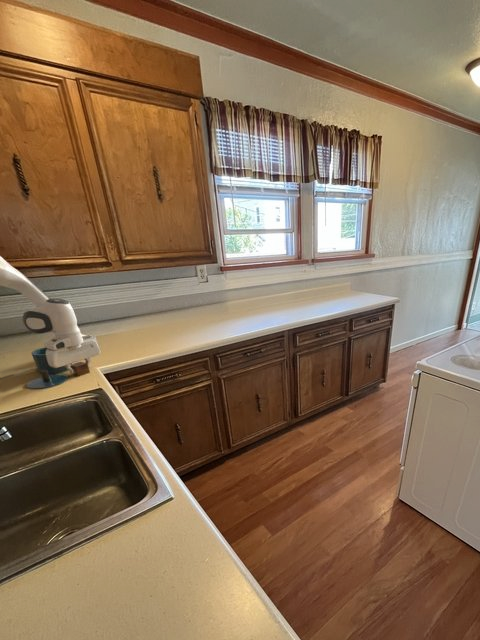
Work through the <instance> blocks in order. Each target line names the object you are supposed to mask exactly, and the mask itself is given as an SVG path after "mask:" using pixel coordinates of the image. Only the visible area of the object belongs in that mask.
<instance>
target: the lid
mask: <svg viewBox="0 0 480 640" xmlns="http://www.w3.org/2000/svg"><path fill="white" fill-rule="evenodd" d="M40 373H41V374H40V377H36V378H34V379H32V380H30V381H29V382H28V383H26V388H28V389H30V390H43V389H48V388H53V387H56V386H59V385H62V384H63V383H65V382H66V381H68V379H69V378H68V375H66V374H51V375H49V374H48V371H47V370H41V371H40Z"/></svg>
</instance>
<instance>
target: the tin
mask: <svg viewBox="0 0 480 640" xmlns="http://www.w3.org/2000/svg"><path fill="white" fill-rule="evenodd" d="M47 349H48V348H45V347H41V348H37V349H35V350H32V351H31V356H32V359H33V361H34V364H35V365H36V369H37V371H38V374H39V375H41V373H40V371H41V370H47V371H48V374H49V375H59V374H61V373H65V372H68V371H69V369H68V368H66V367H65V366H62V367H58V368H53V367H51V366H49V364H48V361H47V358H46V350H47ZM72 364H73V363H71V365H72Z"/></svg>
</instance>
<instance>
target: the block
mask: <svg viewBox="0 0 480 640" xmlns="http://www.w3.org/2000/svg"><path fill="white" fill-rule="evenodd" d="M70 367H71V368H73V369H75V371H76V373H73V374H72V375H73V376H76V377H81V376H85V375H87V374H90V373H91V371H90V368H89V367H88V364H87V363H85V362H84V361H78V362H74V363H72V365H71V366H70Z"/></svg>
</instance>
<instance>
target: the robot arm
mask: <svg viewBox="0 0 480 640" xmlns="http://www.w3.org/2000/svg"><path fill="white" fill-rule="evenodd" d="M0 287H5V288H9V289H12V290H15V291H17V292H18V293H20V294H22V295H23V296H24V297H25V298H26V299H27V300H29V302H31V303H32V304H33V305H34V306H35V307H33V308H31V309H28V310H27V311H24V313H23V314H22V323H23V325H24V326H25V328H26V329H27V330H29V331H30V332H31V333H34V334H46V333H49V332H52V333H54V335H55V336H54V337H52V338H50V339H49V340H47V341H45V342H44V343H43V347H44V348H48V349H47V350H46V358H47V361H48V364H49V366H51V367H53V368H58V367H62V366H65V367H66V368H68V369H69V370H68V371H69V373H70V374H72V375H73V373H76V371H75V369H73V368H71V367H70V366H71V363H72V364H75V363H78V362H82V361H85V362H84V363H87V364H88V367H89V369H90V368H91V367H90V363H91V358H94V357H96V356H100V355H101V348H100V347H99V343H98V342H97V337H96V336H95V335H93V334H86V335H87V336H82V335H81V334H82V333H81V329H80V327H79V326H78V319H77V316H76V313H75V311H74V308H73V306H72V305H71V303H70V302H69V301H68V300H66V299H64V298H63V299H62V298H51V297H49V295H47V293H45V292H44V291H43V290H42V289H41V288H40V287H39V286H38V285H36V283H34V282H33V281H32V280H31V278H29V277H28V276H26V275H25V274H24V273H22V272H21V271H20V270H18V269H17V268H15V267H14V266H13V265H11V264H10V263H9V262H8V261H6V260H5V259H4V258H3V257H2V256H1V255H0Z"/></svg>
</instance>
